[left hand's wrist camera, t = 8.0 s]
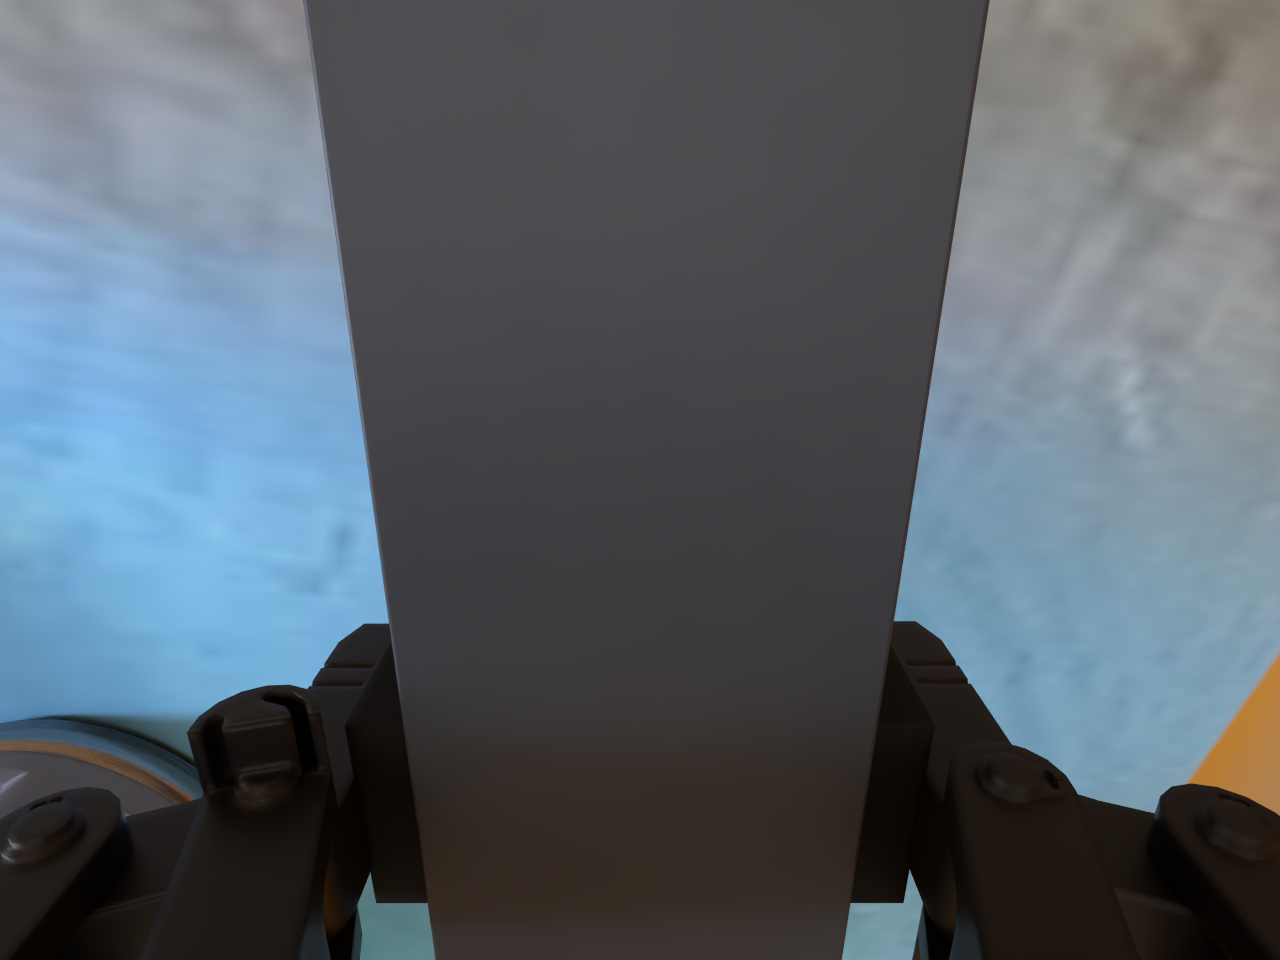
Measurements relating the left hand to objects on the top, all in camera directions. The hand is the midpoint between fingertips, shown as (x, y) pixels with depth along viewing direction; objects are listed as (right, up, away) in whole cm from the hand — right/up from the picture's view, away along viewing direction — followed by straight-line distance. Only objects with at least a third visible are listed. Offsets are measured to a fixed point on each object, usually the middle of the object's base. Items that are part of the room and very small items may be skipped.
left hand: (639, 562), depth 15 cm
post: (0, +19, -7) cm, 20 cm away
